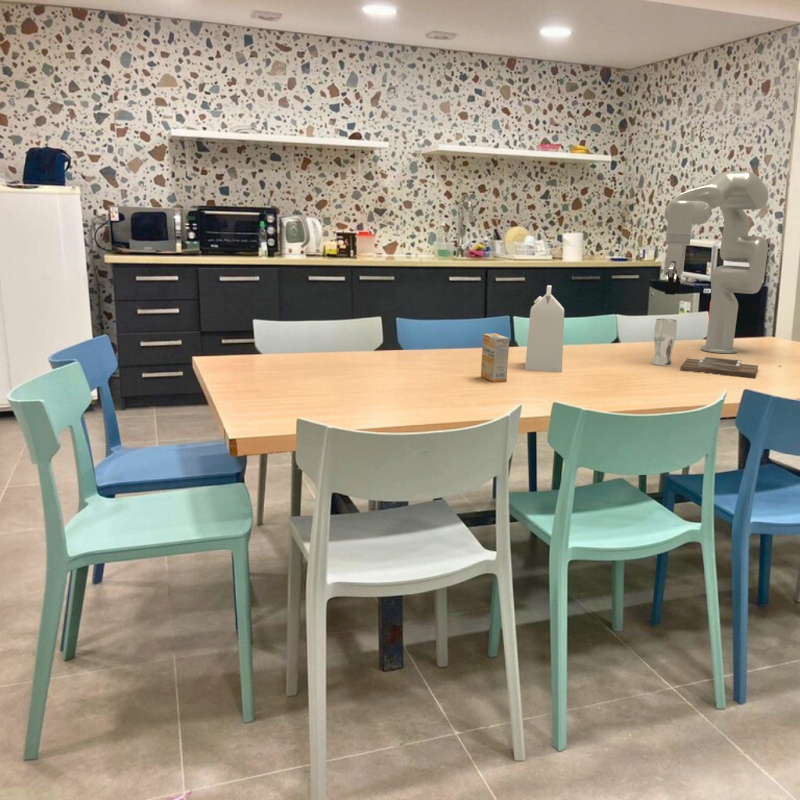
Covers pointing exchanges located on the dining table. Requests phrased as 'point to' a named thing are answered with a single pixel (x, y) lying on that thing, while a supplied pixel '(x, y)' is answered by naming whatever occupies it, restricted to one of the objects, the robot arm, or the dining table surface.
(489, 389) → the dining table surface
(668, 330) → the beer glass
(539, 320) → the milk
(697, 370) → the walnut board
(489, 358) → the supplement box
